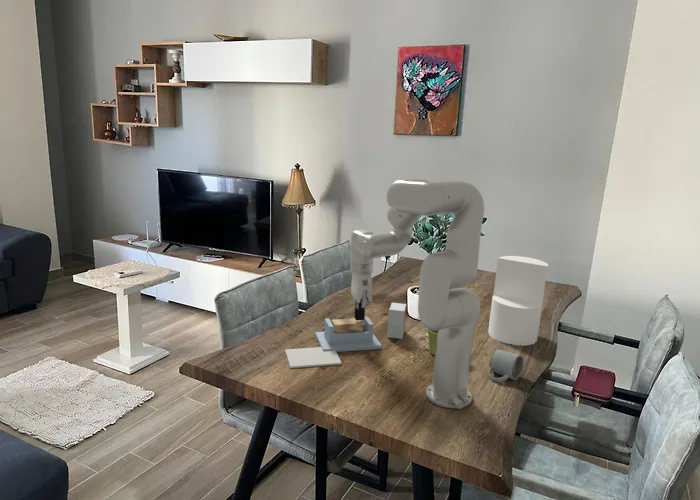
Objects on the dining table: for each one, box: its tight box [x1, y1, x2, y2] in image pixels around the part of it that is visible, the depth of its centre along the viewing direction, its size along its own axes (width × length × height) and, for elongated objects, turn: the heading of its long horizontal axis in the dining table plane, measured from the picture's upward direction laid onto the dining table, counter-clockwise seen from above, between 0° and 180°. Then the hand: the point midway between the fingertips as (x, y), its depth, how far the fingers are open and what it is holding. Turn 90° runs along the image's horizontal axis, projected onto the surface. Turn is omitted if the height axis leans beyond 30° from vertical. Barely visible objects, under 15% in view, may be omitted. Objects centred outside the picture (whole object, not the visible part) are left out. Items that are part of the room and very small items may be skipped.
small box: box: [386, 302, 407, 340], centre depth 183 cm, size 8×6×10 cm
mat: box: [284, 346, 342, 369], centre depth 163 cm, size 12×16×1 cm
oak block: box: [330, 318, 363, 334], centre depth 175 cm, size 10×4×4 cm, turn 104°
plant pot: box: [425, 327, 439, 356], centre depth 170 cm, size 9×9×9 cm
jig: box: [314, 315, 383, 353], centre depth 175 cm, size 20×14×8 cm
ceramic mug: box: [488, 349, 524, 383], centre depth 156 cm, size 11×8×8 cm
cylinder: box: [488, 255, 549, 346], centre depth 185 cm, size 17×17×28 cm
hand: (359, 319), depth 174 cm, fingers closed
